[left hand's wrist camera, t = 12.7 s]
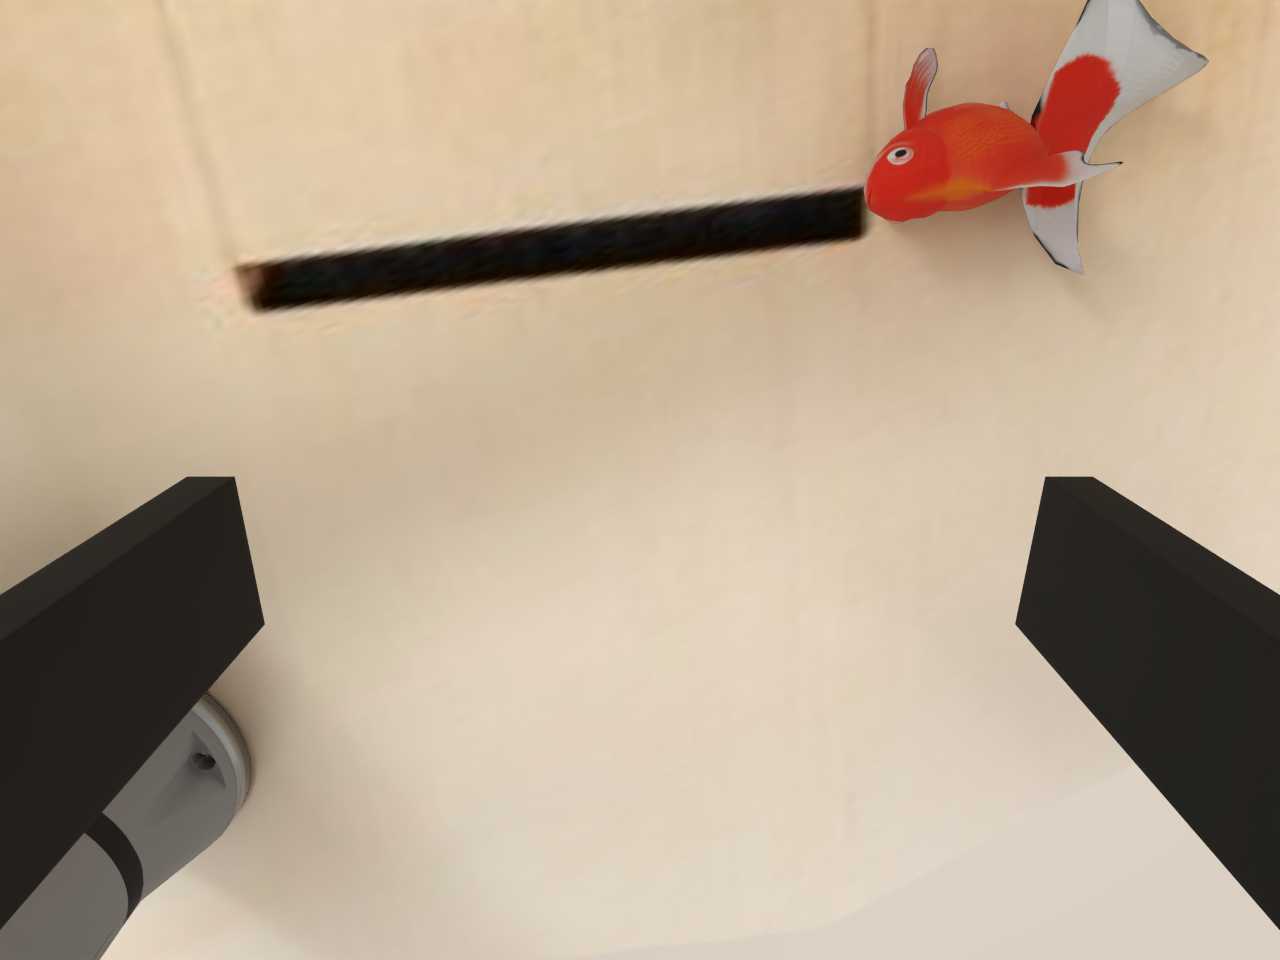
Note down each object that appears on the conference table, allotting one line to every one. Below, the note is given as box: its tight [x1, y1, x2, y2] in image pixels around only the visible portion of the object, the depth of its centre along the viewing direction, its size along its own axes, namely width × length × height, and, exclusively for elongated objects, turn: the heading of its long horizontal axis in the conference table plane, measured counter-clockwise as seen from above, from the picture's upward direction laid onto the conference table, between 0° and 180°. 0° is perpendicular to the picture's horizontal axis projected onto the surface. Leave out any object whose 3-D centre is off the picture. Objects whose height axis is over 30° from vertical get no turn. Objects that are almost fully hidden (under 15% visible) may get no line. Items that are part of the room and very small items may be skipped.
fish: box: [864, 0, 1209, 275], centre depth 33 cm, size 11×16×10 cm
